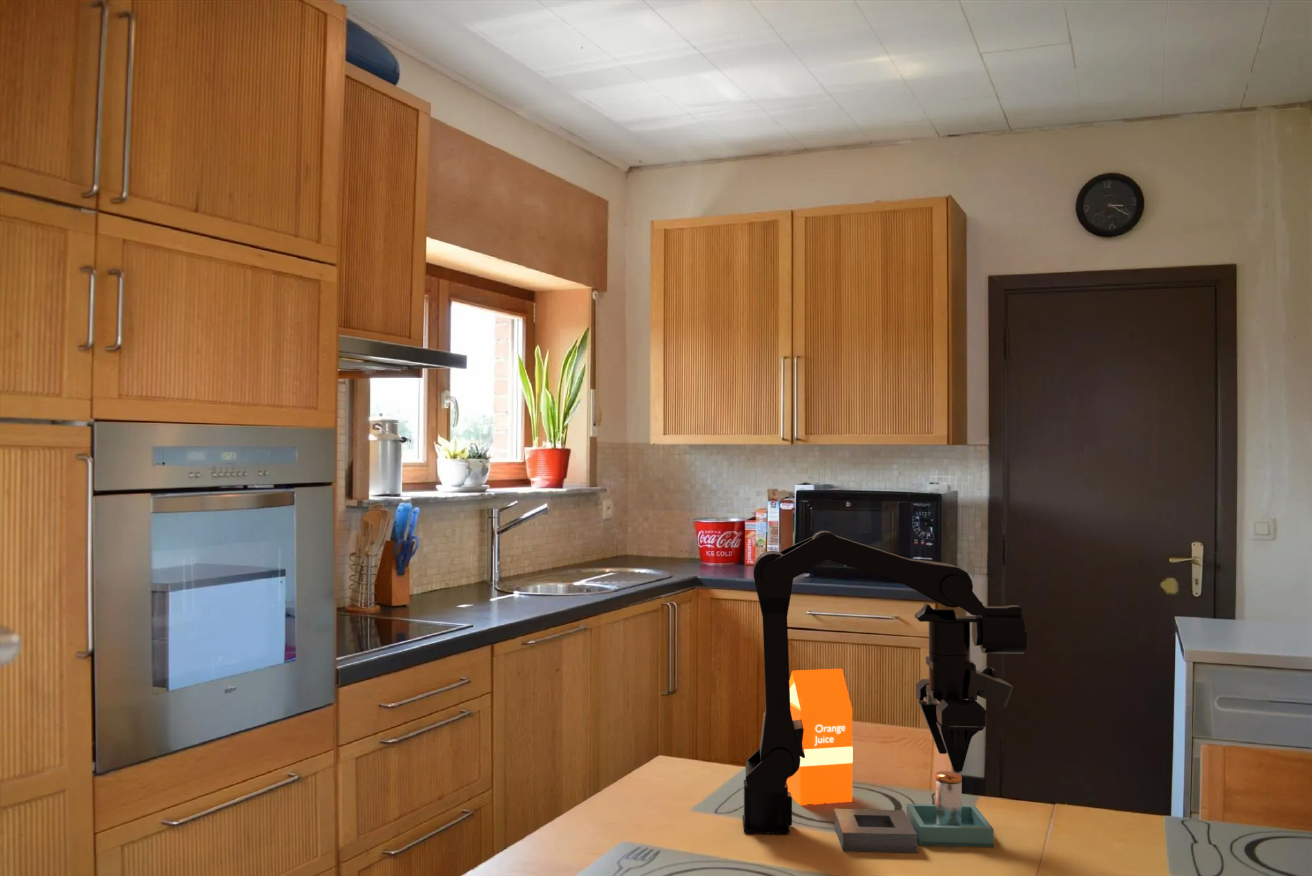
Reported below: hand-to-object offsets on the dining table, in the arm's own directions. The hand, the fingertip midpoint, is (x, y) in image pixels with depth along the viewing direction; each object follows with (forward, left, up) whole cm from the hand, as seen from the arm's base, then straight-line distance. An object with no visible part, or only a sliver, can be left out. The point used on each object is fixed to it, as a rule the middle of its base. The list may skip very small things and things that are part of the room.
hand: (950, 762), depth 149 cm
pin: (0, 0, -10) cm, 10 cm away
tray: (0, 0, -10) cm, 10 cm away
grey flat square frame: (-11, -3, -10) cm, 15 cm away
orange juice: (-17, +16, -10) cm, 26 cm away
